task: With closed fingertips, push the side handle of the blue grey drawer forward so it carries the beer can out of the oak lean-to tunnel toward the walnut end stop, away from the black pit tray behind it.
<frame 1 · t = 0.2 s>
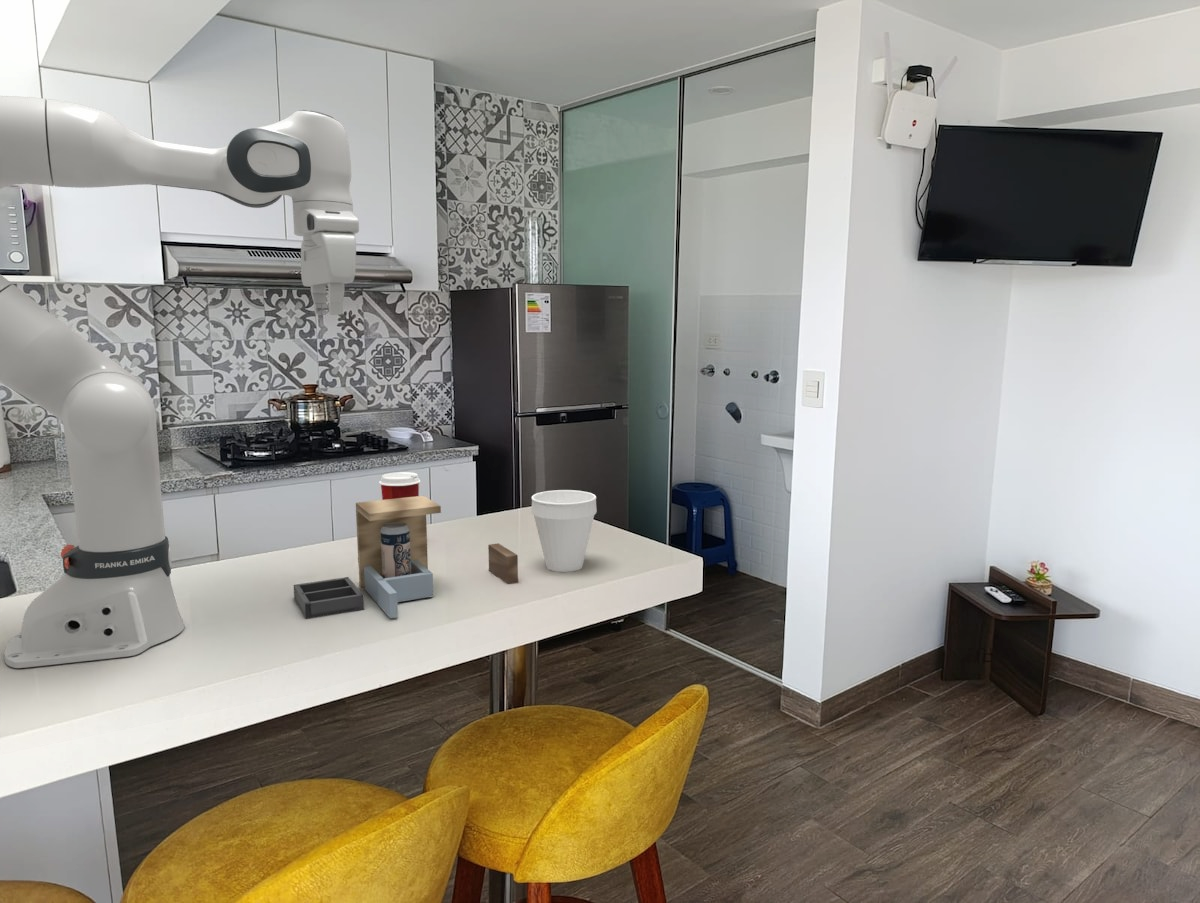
hand: (328, 314, 131), 47 cm above the counter, fingers open, 8 cm apart
pit tray: (328, 603, 138), on the counter
tunnel: (403, 592, 144), on the counter
end stop: (503, 576, 153), on the counter
cup: (564, 567, 159), on the counter
beer can: (397, 594, 144), on the counter
blue grey drawer: (404, 587, 140), point 2 cm above the counter, slide at 0.0 cm
coffee cup: (402, 547, 173), on the counter
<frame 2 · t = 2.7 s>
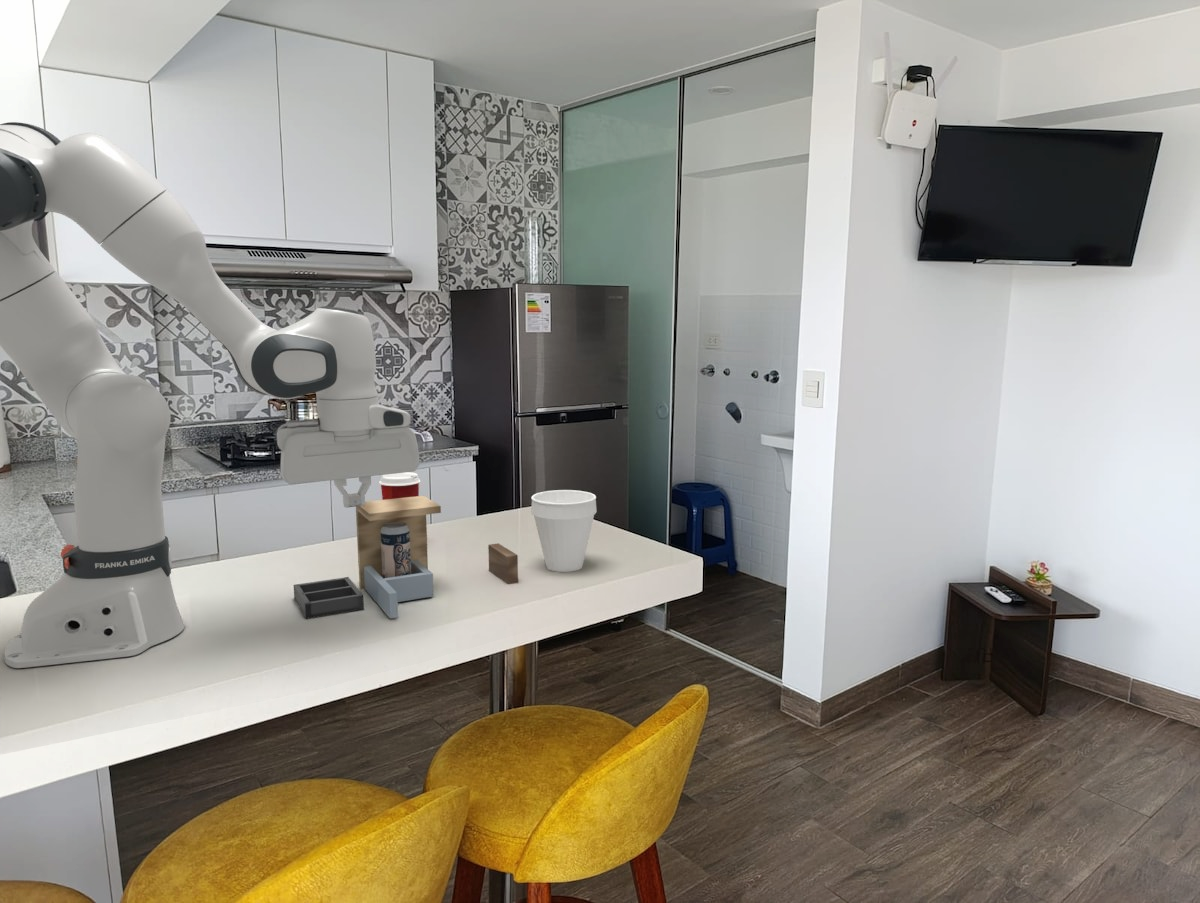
hand: (354, 506, 128), 18 cm above the counter, fingers closed
nothing on the counter moved.
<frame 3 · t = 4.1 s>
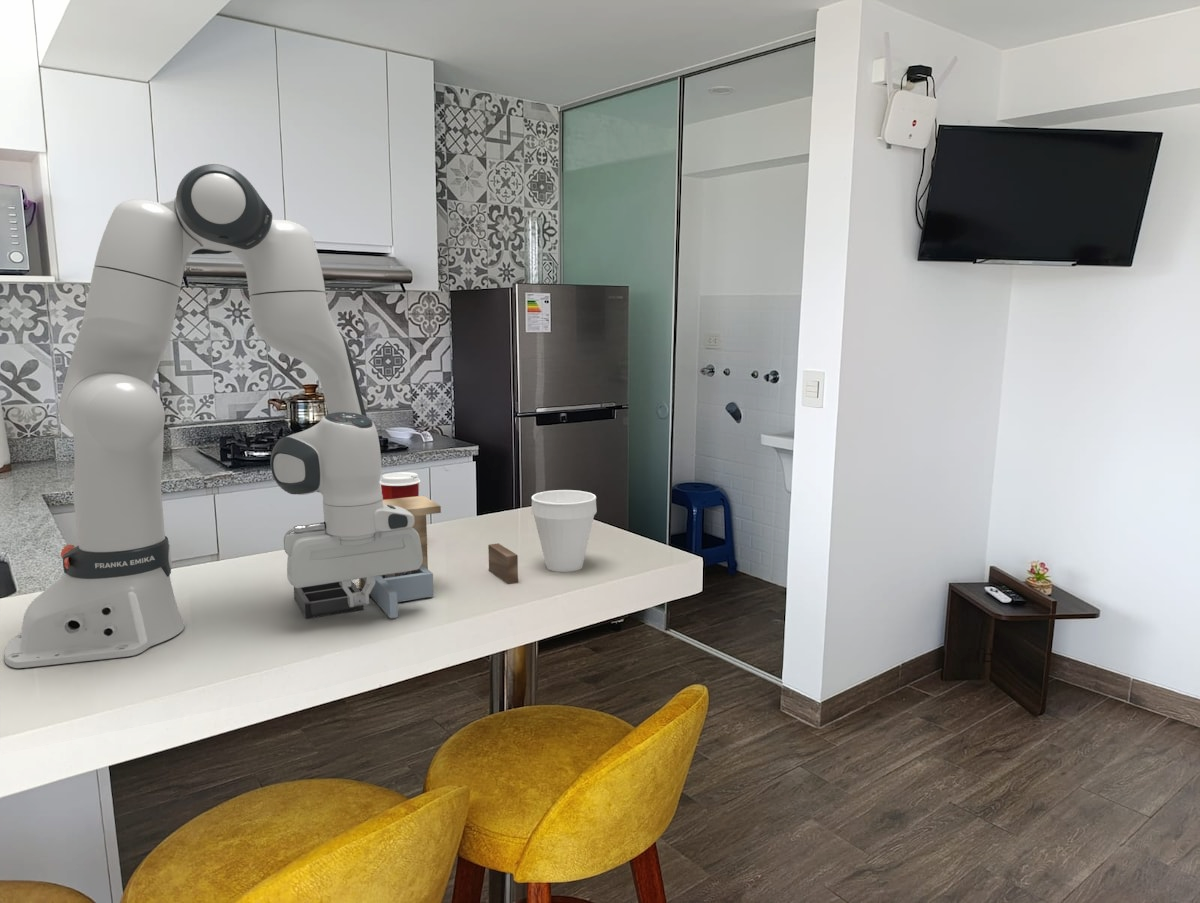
hand: (358, 604, 131), 2 cm above the counter, fingers closed
nothing on the counter moved.
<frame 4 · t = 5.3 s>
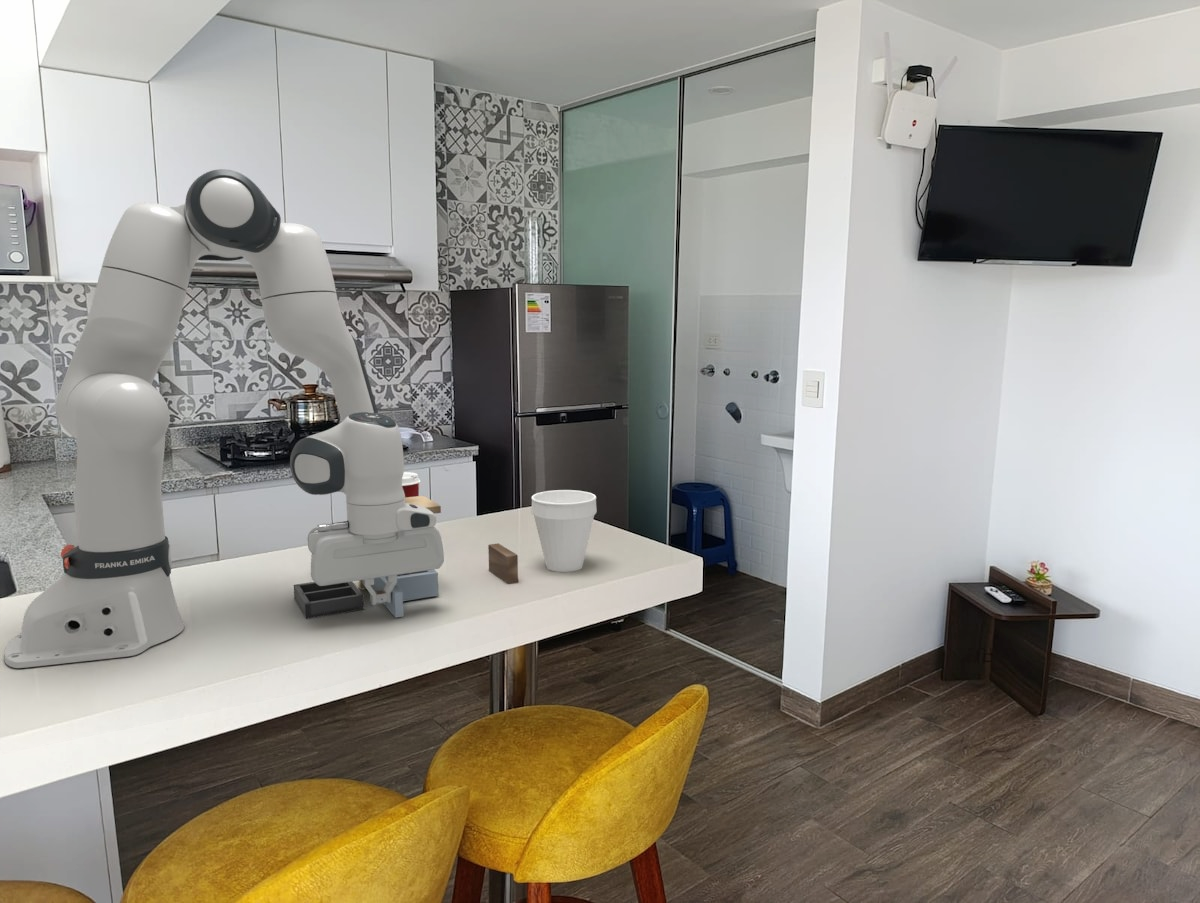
hand: (380, 603, 132), 2 cm above the counter, fingers closed
blue grey drawer: (409, 586, 140), point 2 cm above the counter, slide at 0.9 cm, touching gripper
everything else where it was.
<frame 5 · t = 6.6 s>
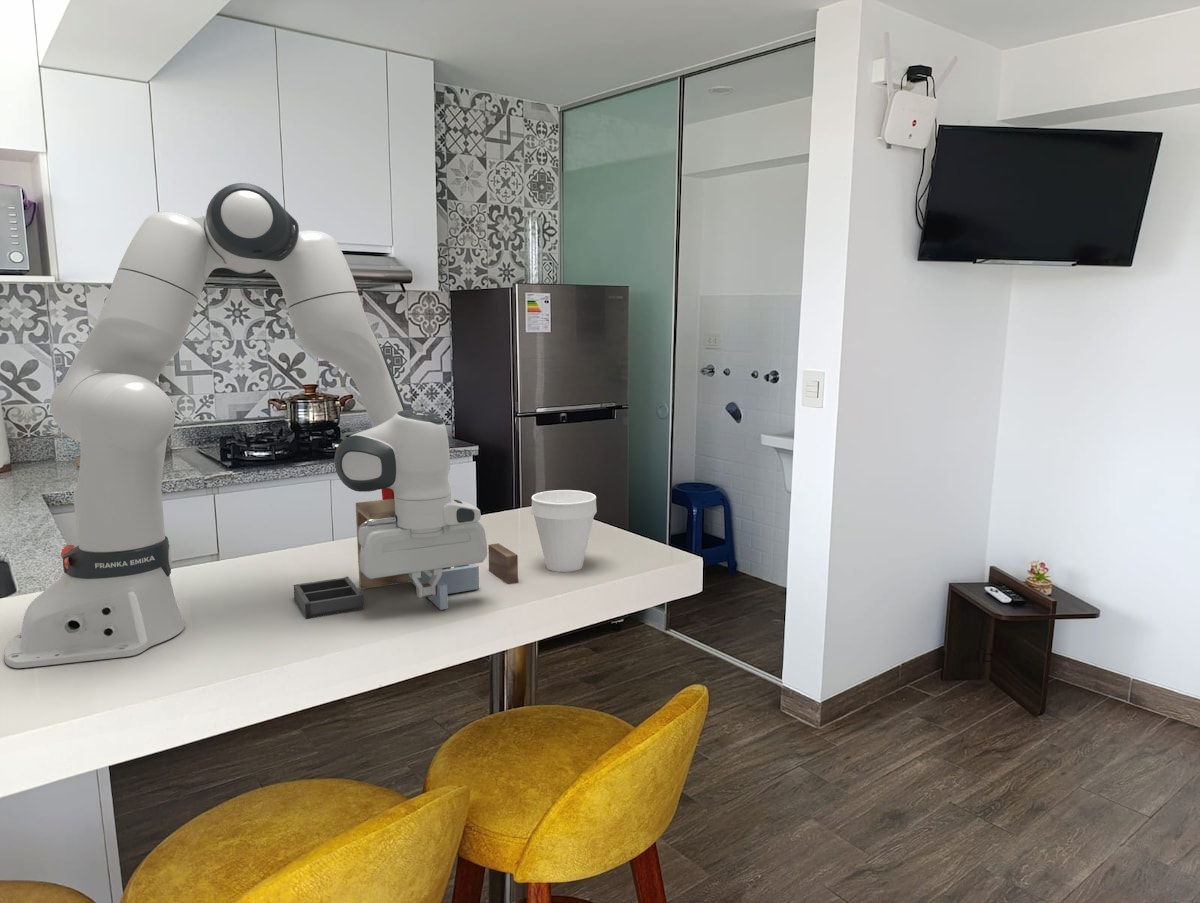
hand: (426, 595, 135), 2 cm above the counter, fingers closed
beer can: (437, 587, 147), on the counter, touching blue grey drawer
blue grey drawer: (451, 579, 143), point 2 cm above the counter, slide at 8.2 cm, touching beer can, gripper
everything else where it was.
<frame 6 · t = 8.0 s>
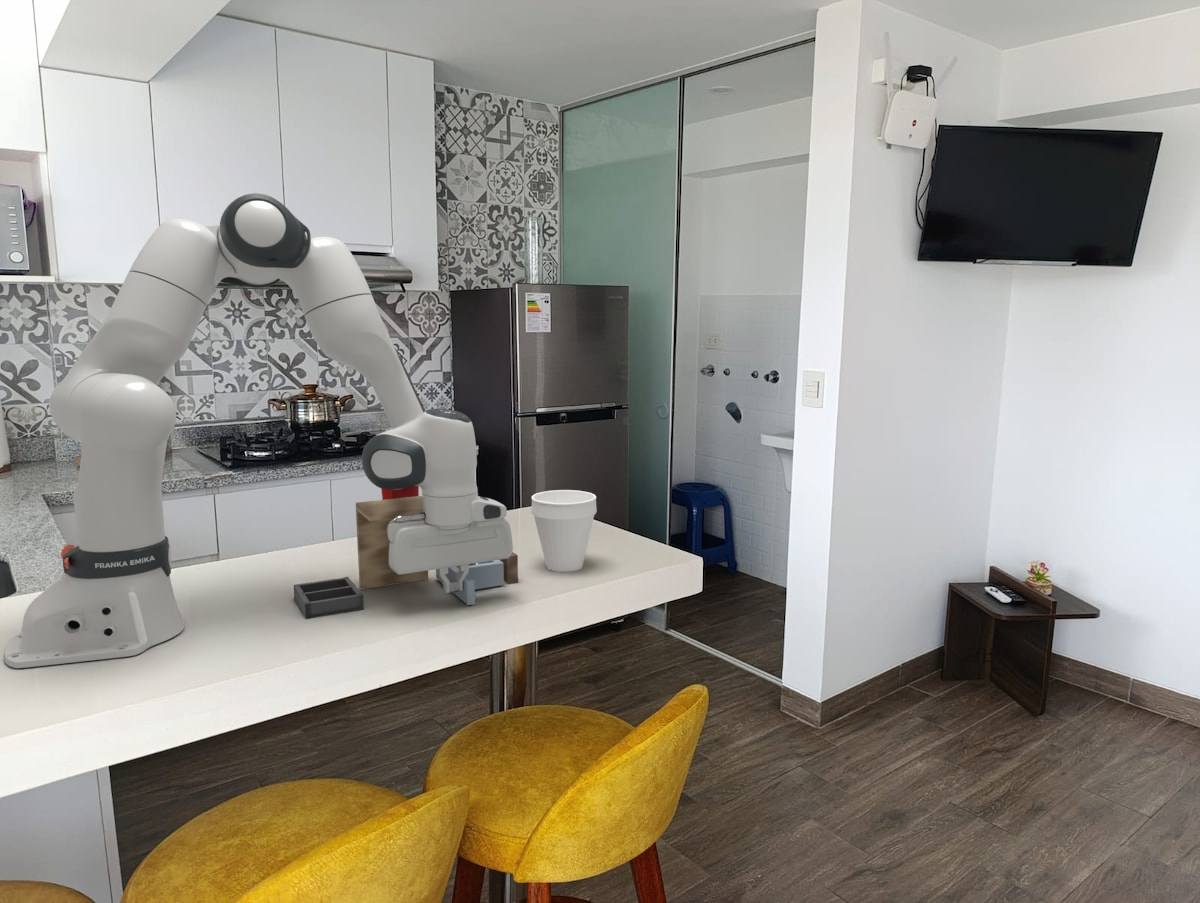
hand: (453, 591, 138), 2 cm above the counter, fingers closed
beer can: (462, 583, 149), on the counter
blue grey drawer: (476, 575, 146), point 2 cm above the counter, slide at 12.8 cm, touching gripper
everything else where it was.
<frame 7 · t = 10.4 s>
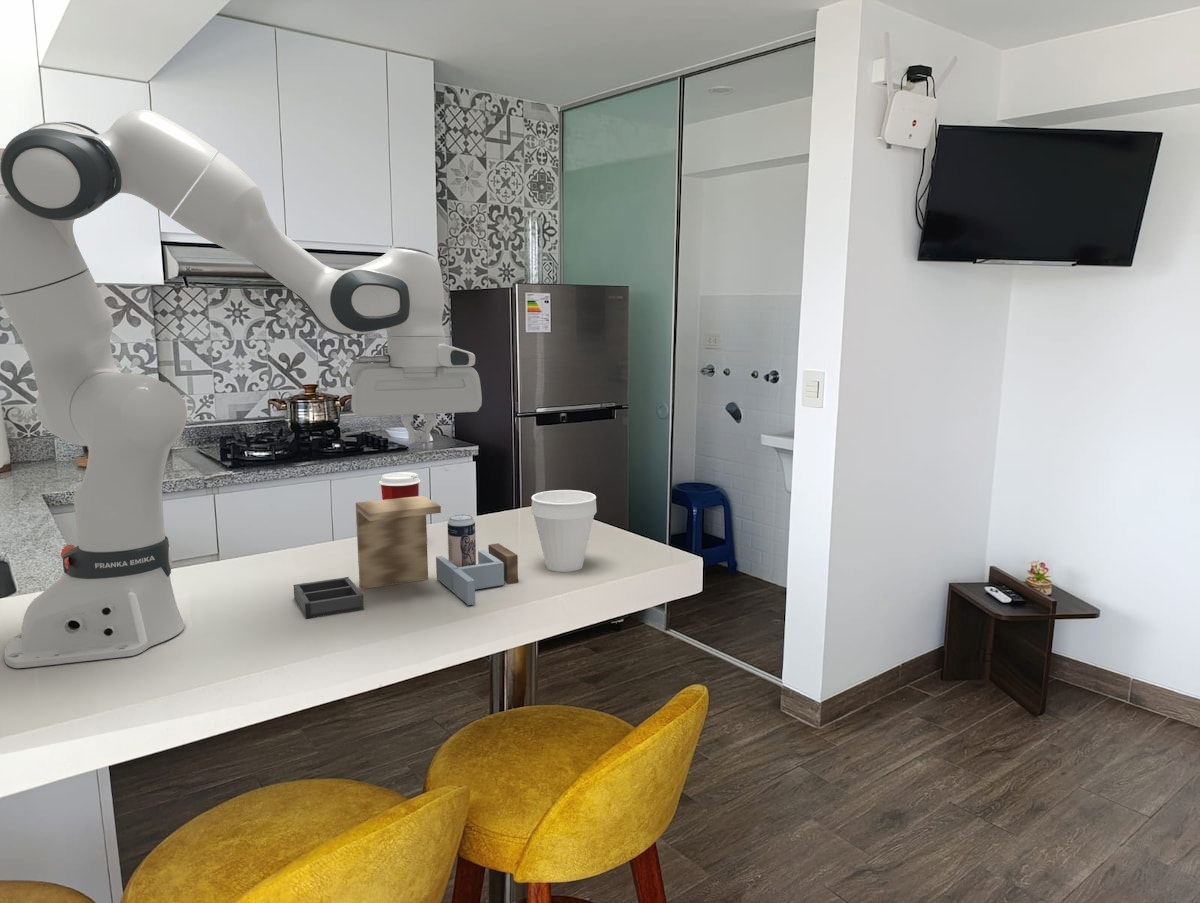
hand: (419, 442, 133), 27 cm above the counter, fingers closed
blue grey drawer: (476, 575, 146), point 2 cm above the counter, slide at 12.8 cm
everything else where it was.
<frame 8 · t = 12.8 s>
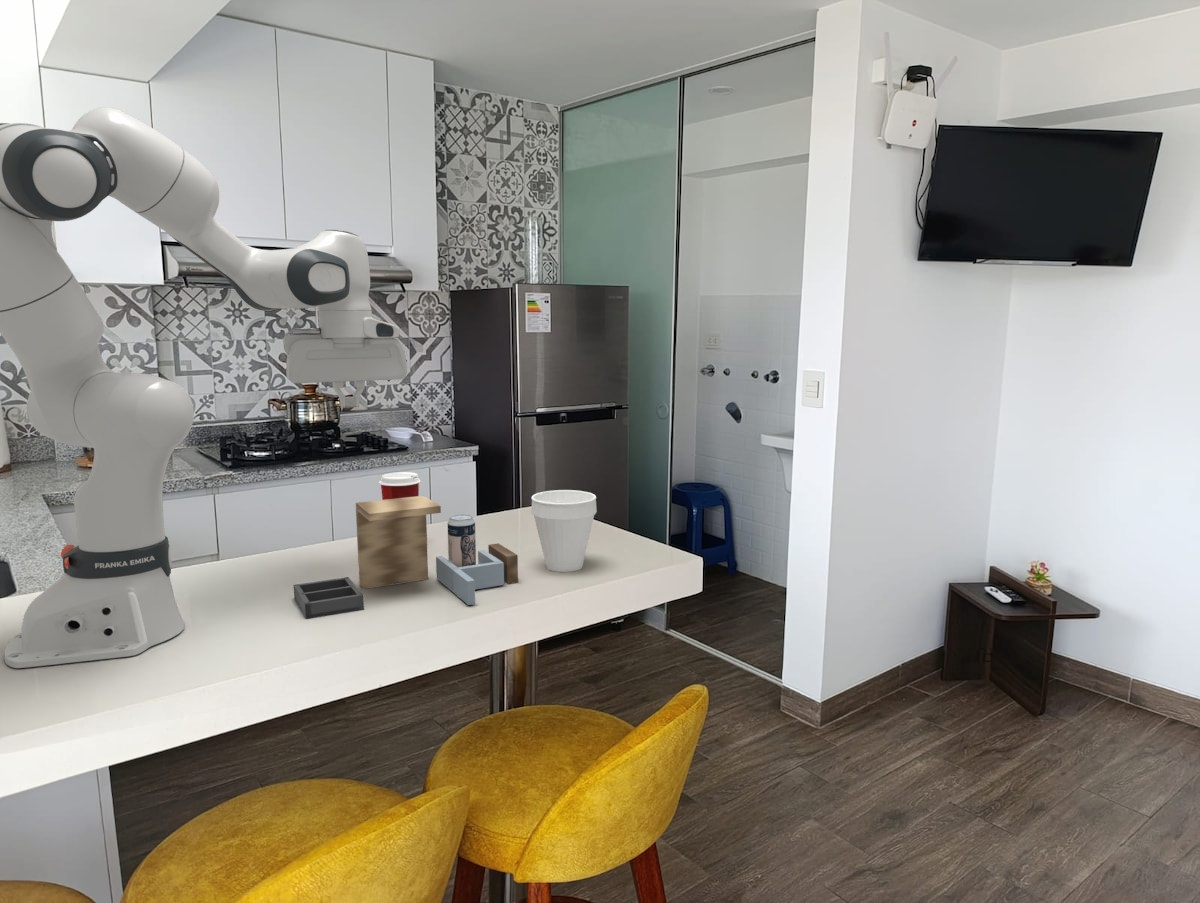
hand: (349, 407, 147), 31 cm above the counter, fingers closed
nothing on the counter moved.
at the end: blue grey drawer slide at 12.8 cm; beer can inside the target area (0.7 cm from its centre), on the counter; beer can tilted 0° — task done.
